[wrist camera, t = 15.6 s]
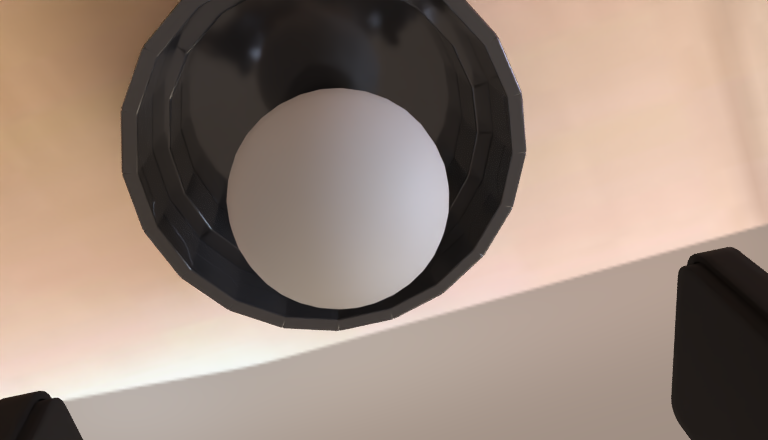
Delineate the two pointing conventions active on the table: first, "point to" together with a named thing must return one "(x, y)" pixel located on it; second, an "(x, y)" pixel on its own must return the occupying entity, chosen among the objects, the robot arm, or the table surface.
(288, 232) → the lightbulb
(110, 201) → the table surface
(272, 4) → the bowl
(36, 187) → the table surface
